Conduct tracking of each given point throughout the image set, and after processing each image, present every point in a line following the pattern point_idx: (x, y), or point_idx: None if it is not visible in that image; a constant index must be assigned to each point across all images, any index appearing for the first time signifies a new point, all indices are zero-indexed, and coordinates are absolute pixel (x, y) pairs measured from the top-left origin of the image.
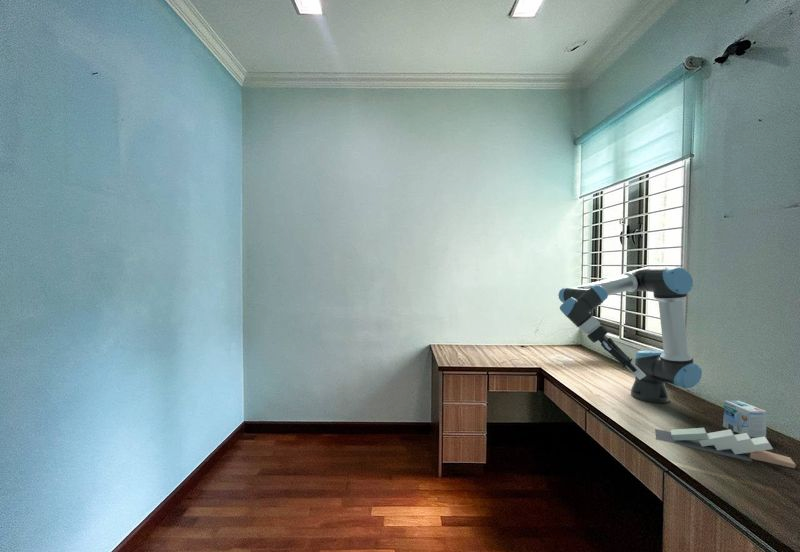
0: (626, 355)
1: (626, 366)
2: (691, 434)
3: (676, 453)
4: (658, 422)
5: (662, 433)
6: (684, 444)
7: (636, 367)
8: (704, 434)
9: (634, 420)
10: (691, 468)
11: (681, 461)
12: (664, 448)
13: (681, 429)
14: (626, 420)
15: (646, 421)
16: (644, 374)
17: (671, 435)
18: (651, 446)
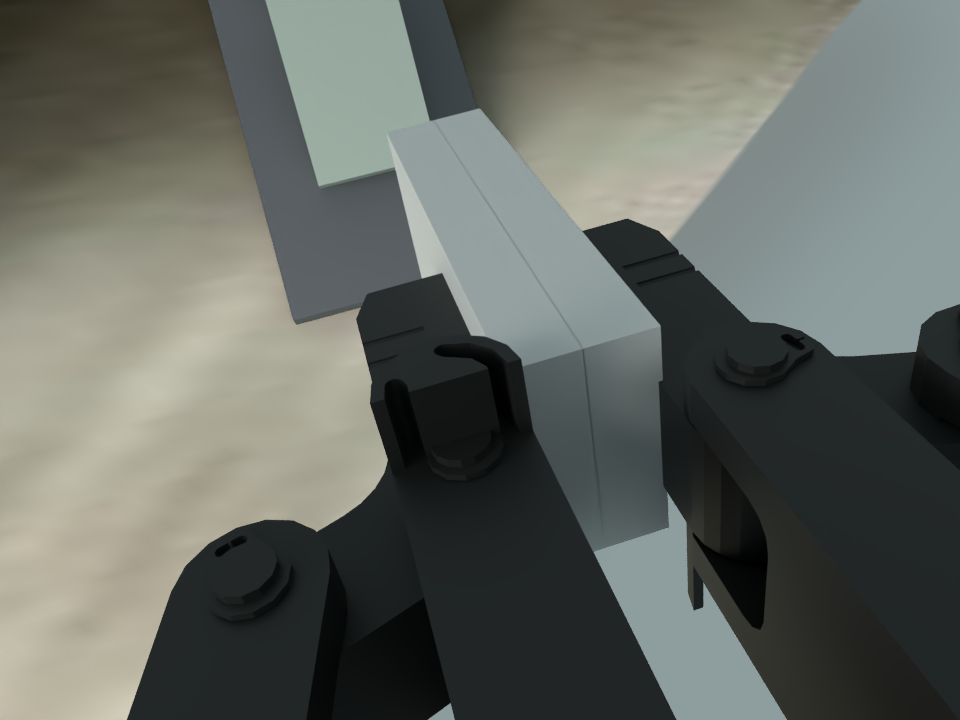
0: (184, 716)
1: (656, 500)
2: (400, 10)
3: (616, 117)
4: (46, 357)
5: (353, 251)
6: (445, 92)
7: (576, 225)
8: None
9: (177, 524)
10: (767, 13)
11: (718, 71)
12: (601, 190)
13: (305, 99)
14: None
15: (111, 439)
16: (470, 126)
17: (336, 194)
18: None
